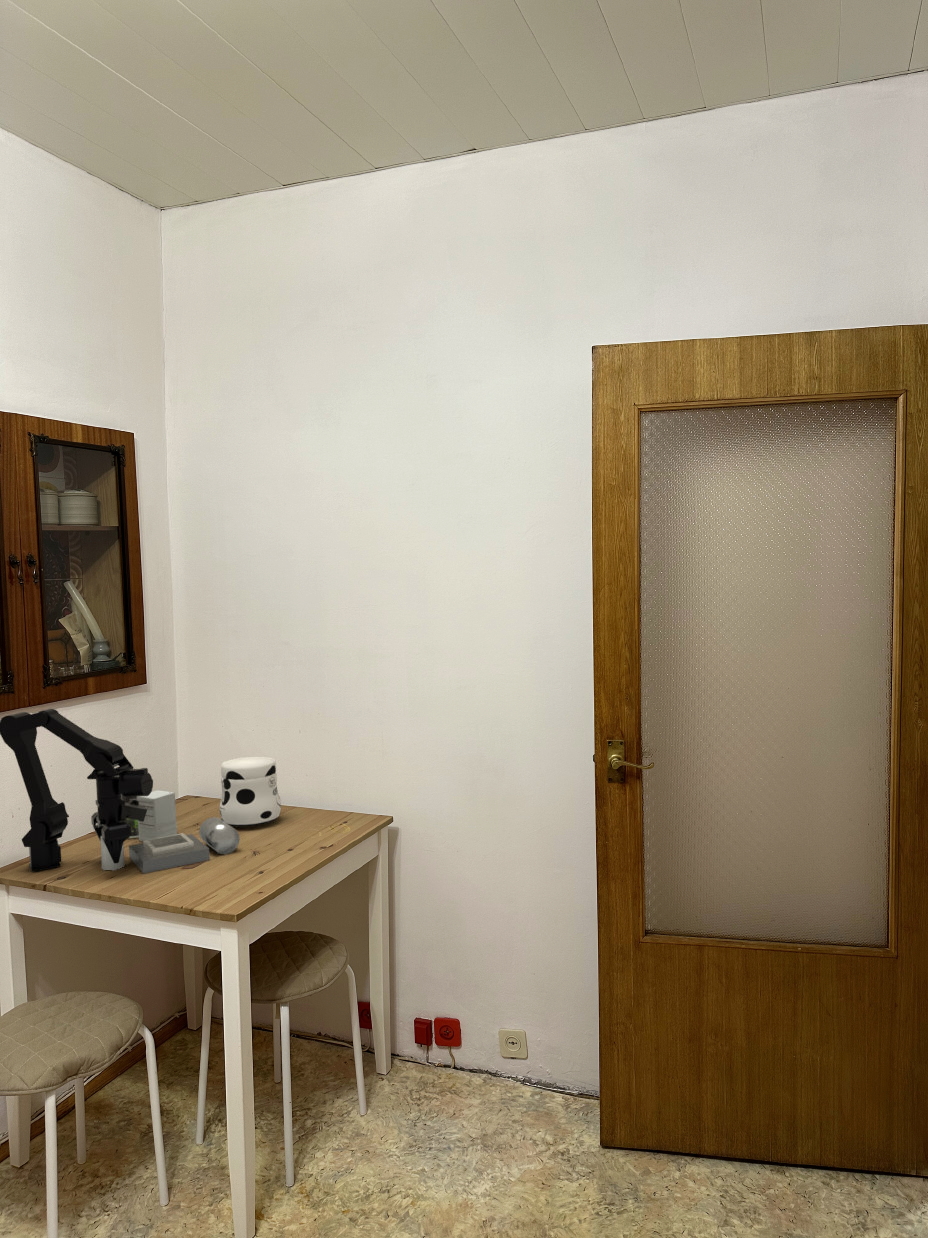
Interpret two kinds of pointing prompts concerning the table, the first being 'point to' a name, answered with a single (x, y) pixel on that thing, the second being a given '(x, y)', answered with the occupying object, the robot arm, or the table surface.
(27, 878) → the table surface
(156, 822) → the supplement box
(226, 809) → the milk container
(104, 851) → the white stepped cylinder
